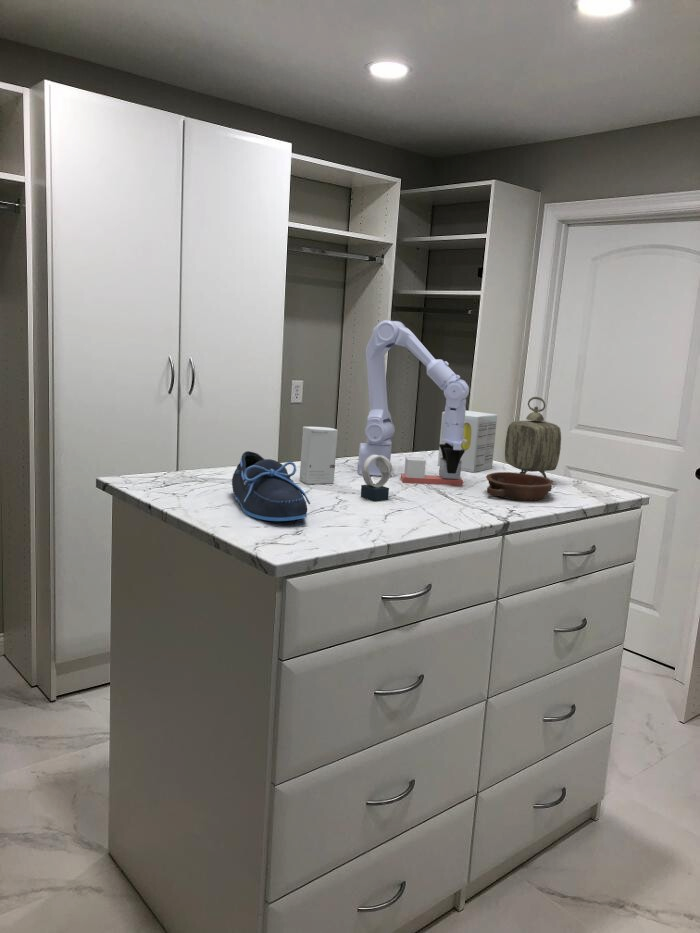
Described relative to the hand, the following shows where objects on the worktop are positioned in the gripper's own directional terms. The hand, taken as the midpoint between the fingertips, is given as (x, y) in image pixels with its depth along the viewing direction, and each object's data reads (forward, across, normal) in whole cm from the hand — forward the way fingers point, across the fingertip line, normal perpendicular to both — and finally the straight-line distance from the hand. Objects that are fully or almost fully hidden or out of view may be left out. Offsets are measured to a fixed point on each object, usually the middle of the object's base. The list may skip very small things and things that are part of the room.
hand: (449, 471), depth 215 cm
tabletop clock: (+4, +9, -26) cm, 27 cm away
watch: (+4, -24, +24) cm, 34 cm away
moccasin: (+4, -38, +50) cm, 63 cm away
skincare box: (+4, -7, +38) cm, 38 cm away
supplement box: (+4, +27, -10) cm, 29 cm away
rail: (+3, 0, +5) cm, 6 cm away
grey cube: (+2, 0, 0) cm, 2 cm away
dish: (+4, -12, -16) cm, 21 cm away
